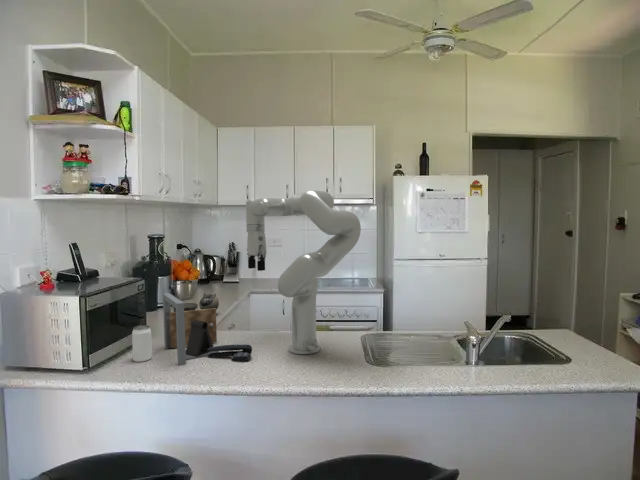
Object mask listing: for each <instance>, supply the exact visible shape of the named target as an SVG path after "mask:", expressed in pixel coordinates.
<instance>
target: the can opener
mask: <svg viewBox="0 0 640 480" xmlns="http://www.w3.org/2000/svg"><path fill="white" fill-rule="evenodd" d="M207 351H209V352H211V351H219V352H216V353H210V354H209V355H208V356H207V357H208V358H216V359H217V358H226V357H231V361H233V362H245V361H248V360H249V359H250V358H251V357H252V355H251V354H252V352H253V347H252V345H251V344H246V343H244V344H237V343H234V344H226V345H225V344H224V345H217V346H214V347H210V348H208V349H207Z"/></svg>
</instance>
